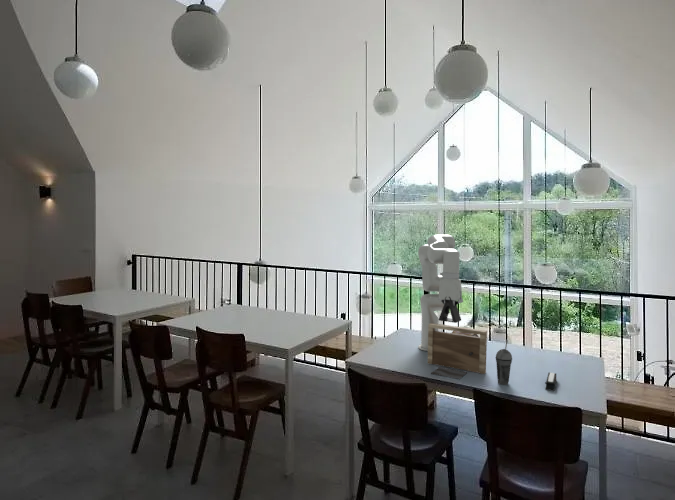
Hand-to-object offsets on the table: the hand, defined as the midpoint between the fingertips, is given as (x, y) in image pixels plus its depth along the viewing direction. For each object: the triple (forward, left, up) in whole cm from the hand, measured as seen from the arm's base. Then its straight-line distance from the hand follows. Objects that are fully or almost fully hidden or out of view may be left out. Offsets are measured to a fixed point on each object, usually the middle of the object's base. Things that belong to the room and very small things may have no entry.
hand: (450, 313), depth 219 cm
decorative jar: (-22, 0, -29) cm, 37 cm away
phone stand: (0, 0, -3) cm, 3 cm away
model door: (-3, 0, -29) cm, 29 cm away
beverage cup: (-1, +25, -29) cm, 39 cm away
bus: (-13, +45, -30) cm, 55 cm away
